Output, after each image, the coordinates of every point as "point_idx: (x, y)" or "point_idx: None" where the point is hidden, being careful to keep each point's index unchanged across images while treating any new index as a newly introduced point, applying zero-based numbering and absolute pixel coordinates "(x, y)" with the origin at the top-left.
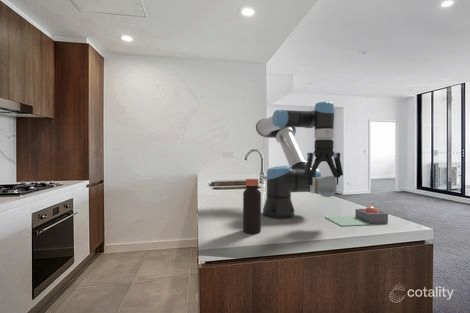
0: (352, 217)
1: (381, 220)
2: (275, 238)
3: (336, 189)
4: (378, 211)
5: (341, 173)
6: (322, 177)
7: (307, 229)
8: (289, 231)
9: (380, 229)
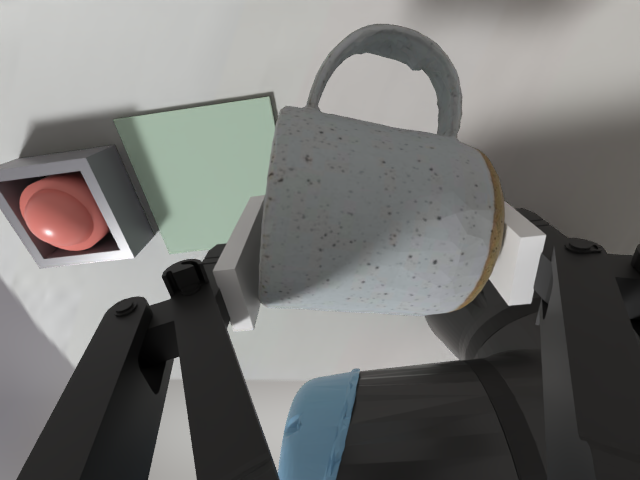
0: (169, 226)
1: (41, 157)
2: None
3: (245, 208)
4: (22, 213)
5: (123, 317)
6: (417, 243)
7: (468, 43)
8: (584, 6)
9: (80, 41)
